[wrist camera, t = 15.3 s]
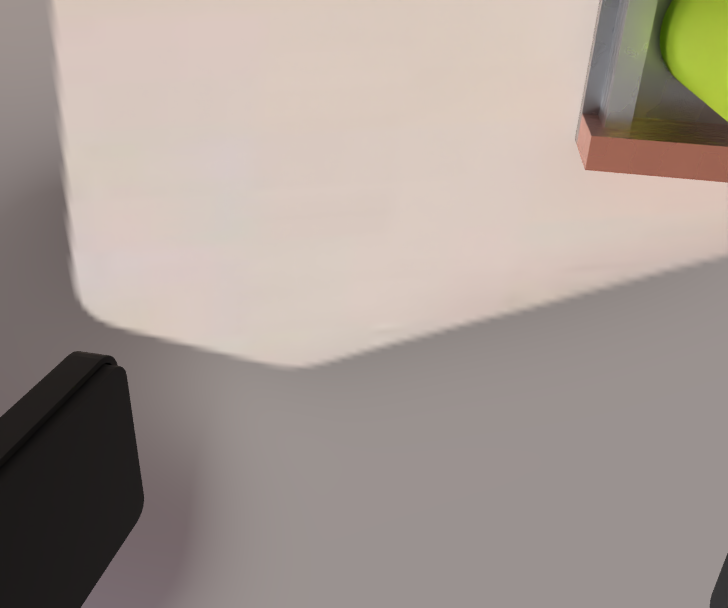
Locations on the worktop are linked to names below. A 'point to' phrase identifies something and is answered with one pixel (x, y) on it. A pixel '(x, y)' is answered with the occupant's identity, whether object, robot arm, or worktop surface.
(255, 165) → the worktop surface
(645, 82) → the grey slotted bracket
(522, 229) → the worktop surface
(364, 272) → the worktop surface
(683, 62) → the soap dispenser
